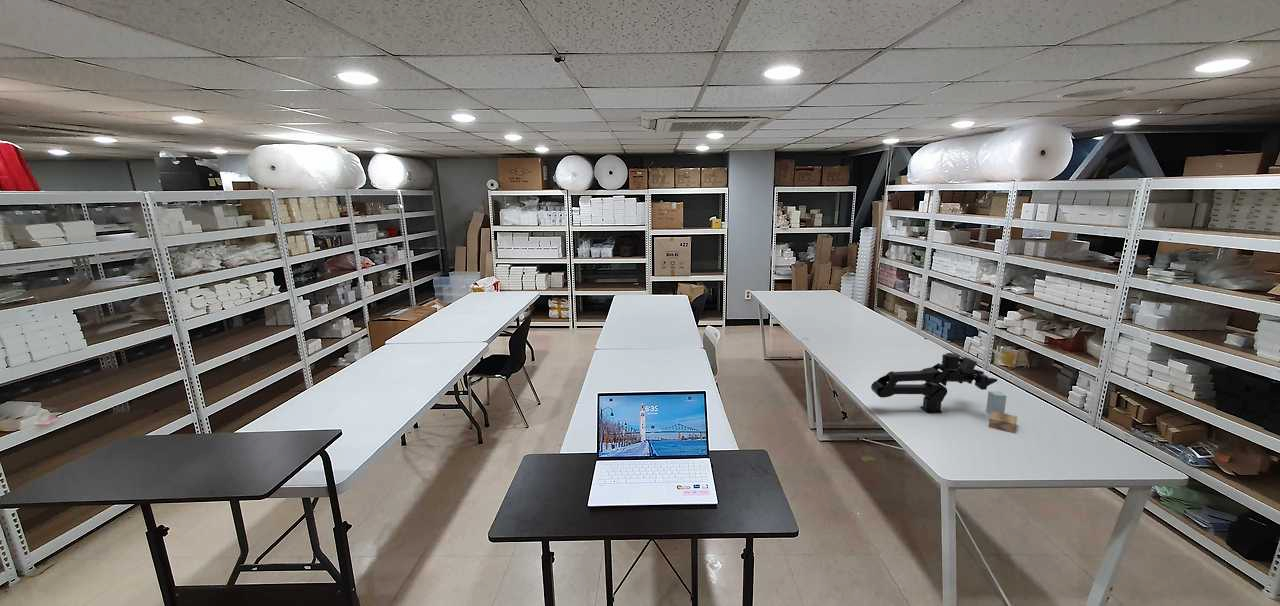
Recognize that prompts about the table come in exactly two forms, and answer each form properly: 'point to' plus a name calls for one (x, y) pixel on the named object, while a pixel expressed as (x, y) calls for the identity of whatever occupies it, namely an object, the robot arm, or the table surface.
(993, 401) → the slate block
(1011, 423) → the tan flat square block
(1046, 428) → the table surface
